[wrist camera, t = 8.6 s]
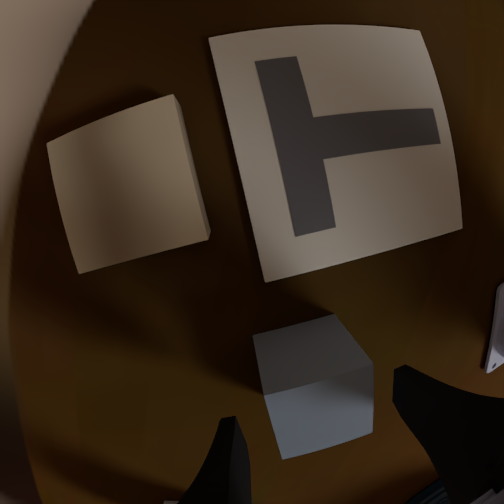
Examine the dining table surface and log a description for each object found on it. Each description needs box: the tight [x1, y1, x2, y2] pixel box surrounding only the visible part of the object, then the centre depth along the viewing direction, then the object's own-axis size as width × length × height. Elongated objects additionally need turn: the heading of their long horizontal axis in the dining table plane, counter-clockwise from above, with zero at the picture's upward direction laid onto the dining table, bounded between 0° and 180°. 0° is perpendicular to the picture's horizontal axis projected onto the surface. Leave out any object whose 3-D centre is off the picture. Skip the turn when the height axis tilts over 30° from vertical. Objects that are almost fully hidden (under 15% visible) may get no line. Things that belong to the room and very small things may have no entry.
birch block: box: [47, 94, 211, 274], centre depth 12 cm, size 6×6×2 cm
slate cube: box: [253, 314, 374, 459], centre depth 14 cm, size 4×4×5 cm
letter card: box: [208, 25, 462, 283], centre depth 13 cm, size 12×12×1 cm
